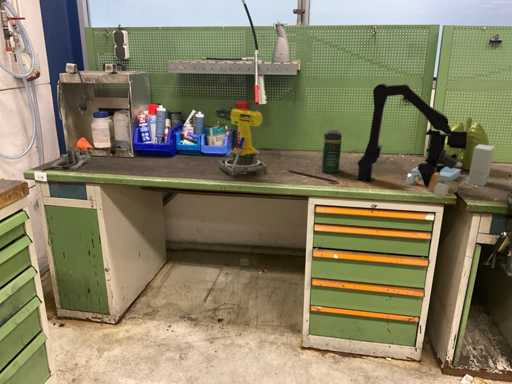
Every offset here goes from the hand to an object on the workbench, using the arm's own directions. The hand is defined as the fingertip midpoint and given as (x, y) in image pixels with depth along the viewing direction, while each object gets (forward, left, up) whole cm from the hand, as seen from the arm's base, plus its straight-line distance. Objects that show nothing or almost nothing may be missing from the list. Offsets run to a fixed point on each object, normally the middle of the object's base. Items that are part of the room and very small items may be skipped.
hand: (430, 184), depth 169 cm
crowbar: (-21, +44, -2) cm, 49 cm away
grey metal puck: (0, +7, -1) cm, 8 cm away
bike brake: (-82, +136, -2) cm, 159 cm away
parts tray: (+18, +4, -1) cm, 18 cm away
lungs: (+39, +1, -1) cm, 39 cm away
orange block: (0, 0, -1) cm, 1 cm away
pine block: (0, -8, -1) cm, 8 cm away
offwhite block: (-6, -6, -1) cm, 9 cm away
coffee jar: (-6, +43, -1) cm, 43 cm away
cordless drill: (-32, +75, -1) cm, 82 cm away
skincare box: (+20, -13, -1) cm, 24 cm away
